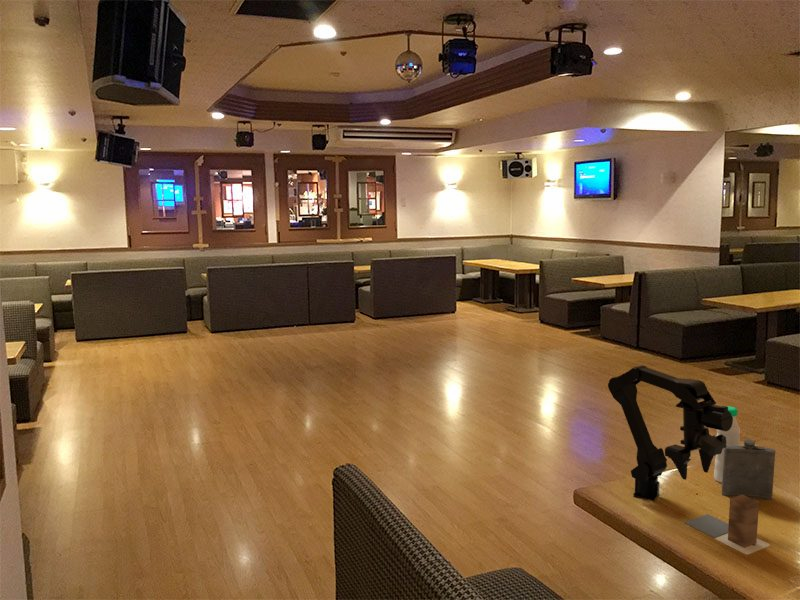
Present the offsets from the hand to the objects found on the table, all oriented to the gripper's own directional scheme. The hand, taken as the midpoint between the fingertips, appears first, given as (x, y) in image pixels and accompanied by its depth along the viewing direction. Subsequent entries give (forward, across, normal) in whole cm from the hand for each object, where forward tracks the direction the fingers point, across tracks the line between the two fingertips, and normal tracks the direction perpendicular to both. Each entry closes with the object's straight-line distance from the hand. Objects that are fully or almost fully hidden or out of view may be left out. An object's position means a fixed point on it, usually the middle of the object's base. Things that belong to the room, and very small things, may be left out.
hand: (695, 475), depth 195 cm
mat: (+13, -2, -6) cm, 15 cm away
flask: (+13, +25, +1) cm, 28 cm away
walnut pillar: (+13, -2, -16) cm, 21 cm away
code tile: (+14, -2, -16) cm, 21 cm away
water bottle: (+12, +29, +12) cm, 33 cm away
